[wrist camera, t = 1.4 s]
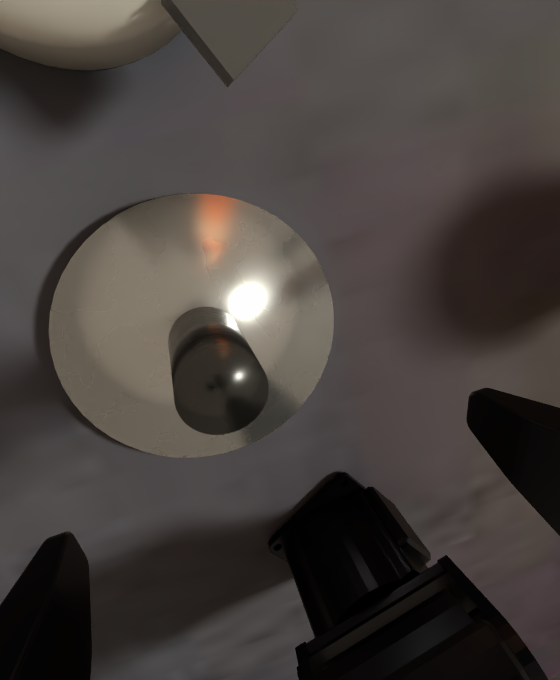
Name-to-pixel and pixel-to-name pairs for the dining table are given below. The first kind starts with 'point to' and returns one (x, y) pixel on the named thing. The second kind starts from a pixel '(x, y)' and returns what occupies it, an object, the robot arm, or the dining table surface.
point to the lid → (191, 325)
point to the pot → (140, 30)
